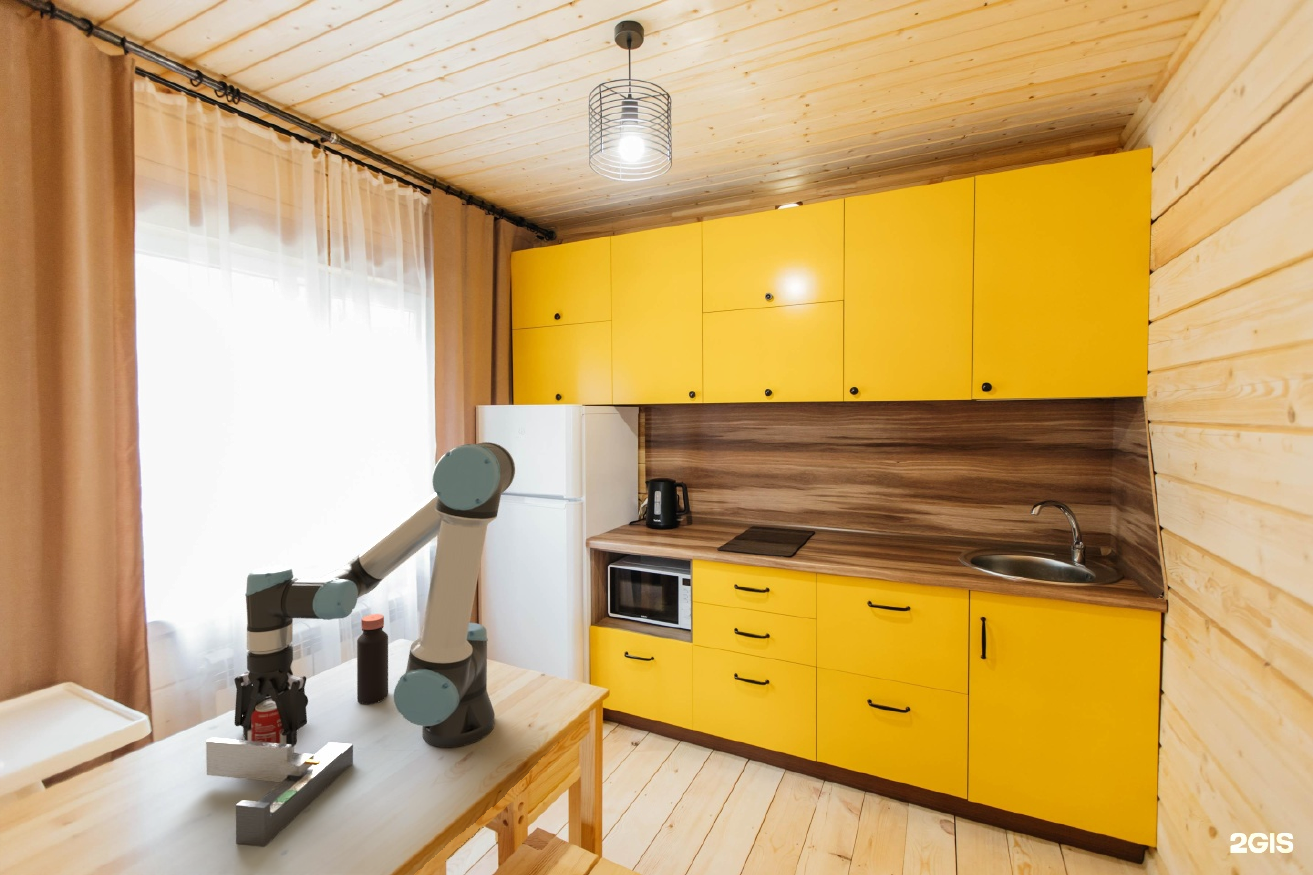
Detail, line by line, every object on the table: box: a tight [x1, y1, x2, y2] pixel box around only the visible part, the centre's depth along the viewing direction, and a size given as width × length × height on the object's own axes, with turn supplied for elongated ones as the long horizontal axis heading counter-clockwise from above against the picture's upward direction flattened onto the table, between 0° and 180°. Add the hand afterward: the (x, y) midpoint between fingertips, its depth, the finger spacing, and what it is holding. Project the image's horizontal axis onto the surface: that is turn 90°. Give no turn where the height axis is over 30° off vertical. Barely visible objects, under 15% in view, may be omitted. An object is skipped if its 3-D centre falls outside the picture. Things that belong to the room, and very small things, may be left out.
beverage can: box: [251, 699, 284, 743], centre depth 112 cm, size 6×6×12 cm
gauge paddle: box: [205, 737, 320, 783], centre depth 104 cm, size 22×4×6 cm, turn 84°
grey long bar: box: [235, 741, 354, 848], centre depth 102 cm, size 5×22×6 cm, turn 174°
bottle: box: [356, 613, 389, 705], centre depth 138 cm, size 7×7×20 cm
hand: (271, 760), depth 112 cm, fingers closed on beverage can, 6 cm apart
